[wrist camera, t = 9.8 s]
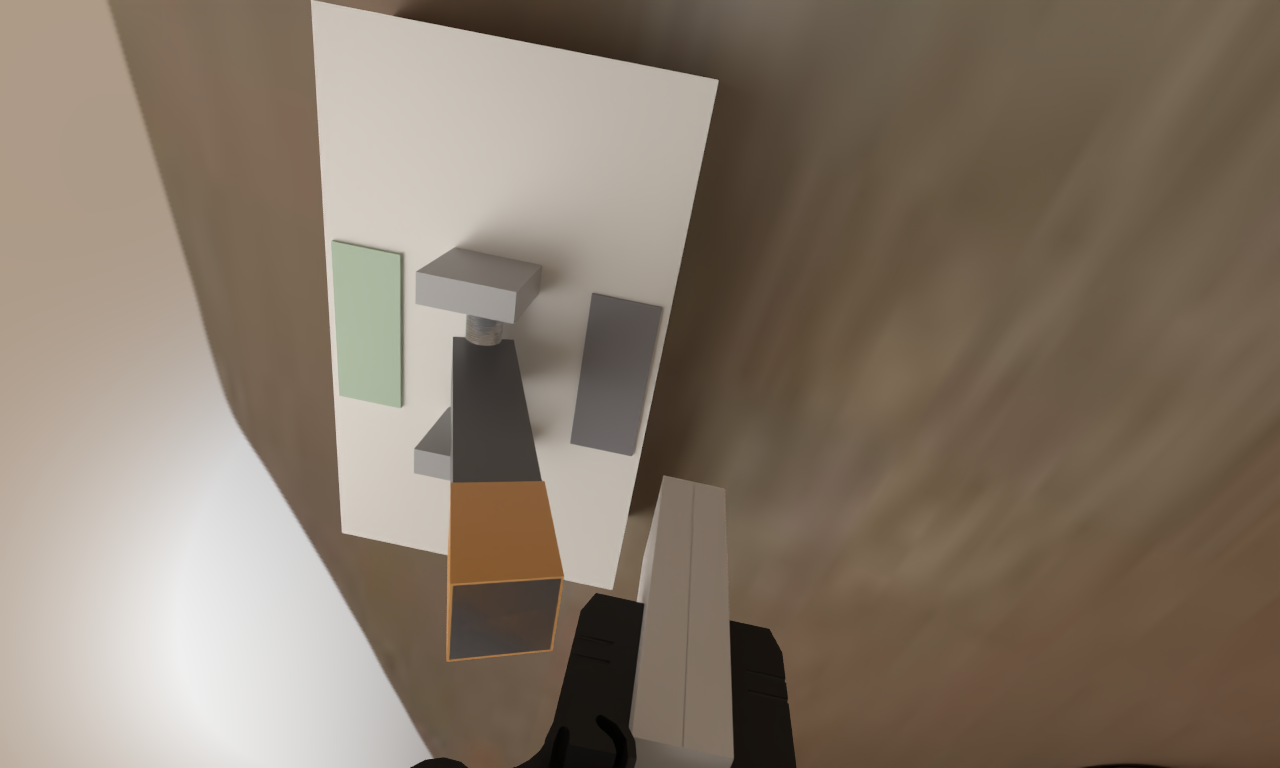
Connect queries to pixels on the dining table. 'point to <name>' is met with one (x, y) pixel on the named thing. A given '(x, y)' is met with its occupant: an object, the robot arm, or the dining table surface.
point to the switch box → (497, 260)
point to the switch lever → (496, 508)
